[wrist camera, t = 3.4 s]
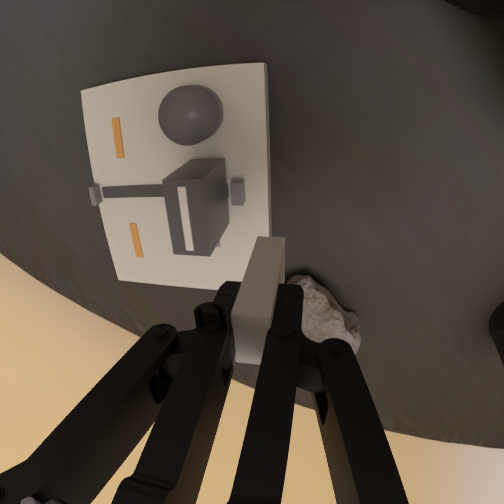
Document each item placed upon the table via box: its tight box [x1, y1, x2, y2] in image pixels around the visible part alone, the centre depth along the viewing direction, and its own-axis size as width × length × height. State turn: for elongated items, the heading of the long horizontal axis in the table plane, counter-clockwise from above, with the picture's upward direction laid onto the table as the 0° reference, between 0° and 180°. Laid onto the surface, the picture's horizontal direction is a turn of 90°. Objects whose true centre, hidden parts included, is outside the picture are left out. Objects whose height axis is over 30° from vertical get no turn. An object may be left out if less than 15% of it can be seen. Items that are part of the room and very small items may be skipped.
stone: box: [286, 275, 361, 354], centre depth 33 cm, size 8×10×6 cm
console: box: [81, 63, 272, 290], centre depth 29 cm, size 22×18×4 cm
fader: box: [162, 158, 229, 257], centre depth 25 cm, size 6×3×6 cm, turn 2°
